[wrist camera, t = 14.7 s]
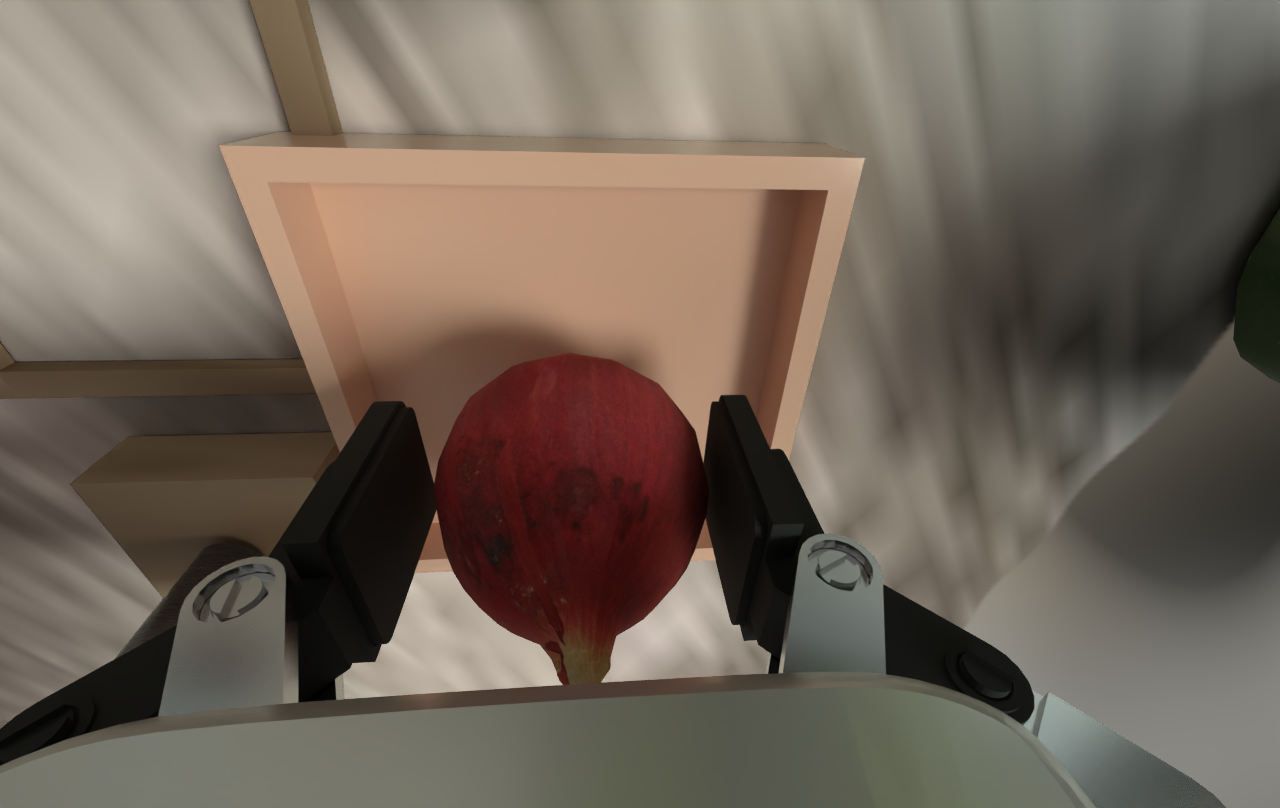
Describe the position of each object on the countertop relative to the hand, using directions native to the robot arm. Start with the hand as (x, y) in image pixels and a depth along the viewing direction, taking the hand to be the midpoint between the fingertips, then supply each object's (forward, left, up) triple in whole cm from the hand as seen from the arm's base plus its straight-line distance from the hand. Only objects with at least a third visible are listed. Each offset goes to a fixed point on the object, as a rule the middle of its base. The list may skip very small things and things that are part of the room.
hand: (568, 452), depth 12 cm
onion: (0, 0, -3) cm, 3 cm away
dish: (0, 0, -4) cm, 4 cm away
